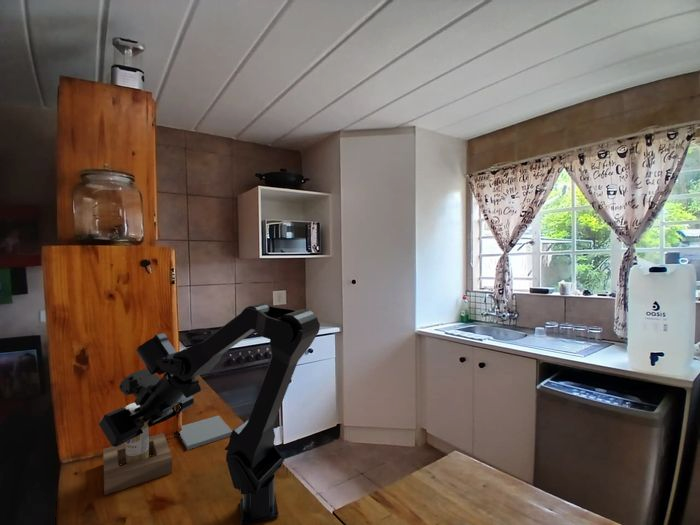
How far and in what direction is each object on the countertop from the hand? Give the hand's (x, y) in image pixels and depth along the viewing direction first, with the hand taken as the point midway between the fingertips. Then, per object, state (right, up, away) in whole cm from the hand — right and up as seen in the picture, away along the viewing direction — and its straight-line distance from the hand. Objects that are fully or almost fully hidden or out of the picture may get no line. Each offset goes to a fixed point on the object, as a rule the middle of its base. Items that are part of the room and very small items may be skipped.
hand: (132, 432), depth 77 cm
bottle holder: (+1, -8, 0) cm, 8 cm away
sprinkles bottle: (+1, -7, 0) cm, 7 cm away
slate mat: (+10, -7, +15) cm, 19 cm away
